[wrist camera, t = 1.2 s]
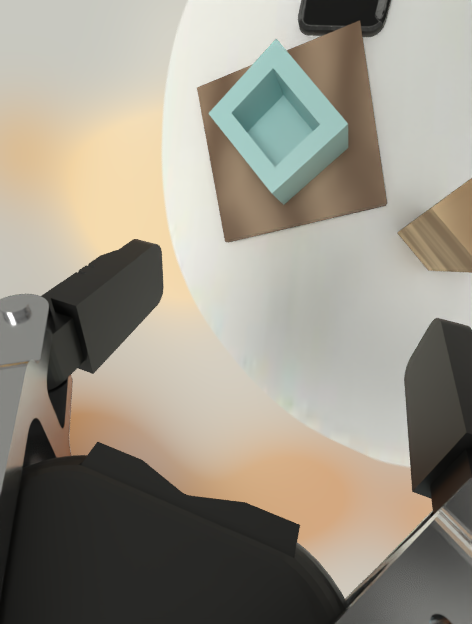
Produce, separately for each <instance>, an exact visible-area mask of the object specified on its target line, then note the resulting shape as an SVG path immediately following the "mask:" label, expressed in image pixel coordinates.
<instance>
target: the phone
mask: <svg viewBox="0 0 472 624" xmlns="http://www.w3.org/2000/svg"><path fill="white" fill-rule="evenodd" d="M390 2H391V0H302V1H301V5H300V10H299V14H298V22H299V27H300V30H301V32H302V33H303V34H305V35H316V36H323V35H326V34H328V33H331V32H333V31H335V30H338V29H340V28H343V27H345V26H347V25H350V24H352V23H355V22H357V21H360V24H361V31H362V37H372V36H374V35H376V34H378V33H379V32H380V31H381V30H382V28H383V27H384V24H385V22H386V18H387V14H388V10H389V6H390ZM314 33H315V34H314Z"/></svg>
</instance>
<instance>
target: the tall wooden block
mask: <svg viewBox="0 0 472 624" xmlns="http://www.w3.org/2000/svg"><path fill="white" fill-rule="evenodd" d="M398 234H399V236H400V237H401V238H402V239H403V240H404V242H405V243H406V244H407V245H408V246H409V248H410V249H411V250H412V251H413V252H414V254H415V255H416V256H417V257H418V259H419V260H420V261H421V262H422V263H423V265H424V266H425V267H426V268H427V269H428V271H451V272H472V178H471V179H470V180H468V181H467V182H466V183H464V184H463V185H462V186H460V187H459V188H458V189H456V190H455V191H453V192H452V193H451V194H449V195H448V196H447V197H445V198H444V199H442V200H441V201H440V202H438V203H437V204H436V205H434V206H433V207H431V208H430V209H429V210H427V211H426V212H425V213H423V214H422V215H421V216H419V217H418V218H417V219H415V220H414V221H413V222H411V223H410V224H408V225H407V226H406V227H404V228H403V229H402V230H400V231H399V232H398Z"/></svg>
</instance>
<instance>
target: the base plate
mask: <svg viewBox="0 0 472 624" xmlns="http://www.w3.org/2000/svg"><path fill="white" fill-rule="evenodd" d="M287 52H288V53H289V54H290V55H291V57H292V58H293V59H294V60H295V61H296V63H297V64H298V65H299V66H300V67H301V68H302V70H303V71H304V72H305V73H306V74H307V76H308V77H309V78H310V79H311V80H312V82H313V83H314V84H315V85H316V86H317V87H318V89H319V90H320V91H321V92H322V93H323V95H324V96H325V97H326V98H327V99H328V101H329V102H330V103H331V104H332V105H333V106H334V108H335V109H336V110H337V111H338V112H339V114H340V115H341V116H342V117H343V118H344V120H345V121H346V122H347V123H348V148H347V149H346V150H345V151H344V152H343V153H342V154H341V155H340V156H338V157H337V158H336V159H335V160H334V161H333V162H332V163H331V164H329V165H328V166H327V167H326V168H325V169H324V170H323V171H322V172H320V173H319V174H318V175H317V176H316V177H315V178H314V179H312V180H311V181H310V182H309V183H308V184H307V185H306V186H305V187H303V188H302V189H301V190H300V191H299V192H298V193H297V194H296V195H294V196H293V197H292V198H291V199H290V200H289V201H288V202H286V203H285V204H284V205H283V204H282V203H281V202H280V201H279V200H278V199H277V198H276V197H275V196H274V195H273V194H272V193H271V192H270V191H269V189H268V188H267V187H266V186H265V184H264V183H263V182H262V181H261V179H260V178H259V177H258V176H257V174H256V173H255V172H254V170H253V169H252V168H251V167H250V165H249V164H248V163H247V162H246V160H245V159H244V158H243V157H242V155H241V154H240V153H239V152H238V150H237V149H236V148H235V147H234V145H233V144H232V143H231V141H230V140H229V139H228V138H227V136H226V135H225V134H224V133H223V131H222V130H221V129H220V128H219V126H218V125H217V124H216V123H215V121H214V120H213V119H212V118H211V116H210V115H209V114H208V113H209V112H210V111H211V110H212V109H213V108H214V107H215V106H216V105H217V103H218V102H219V101H220V100H221V99H222V98H223V97H224V96H225V95H226V94H227V92H228V91H229V90H230V89H231V88H232V87H233V86H234V85H235V84H236V82H237V81H238V80H239V79H240V78H241V77H242V76H243V75H244V74H245V73H246V71H247V70H248V69H249V68H250V67H251V66H252V65H251V66H248V67H246V68H243V69H241V70H239V71H236V72H234V73H231V74H229V75H227V76H224V77H222V78H219V79H217V80H214V81H212V82H210V83H207V84H205V85H202V86H200V87H198V88H197V90H198V96H199V101H200V107H201V112H202V118H203V123H204V129H205V134H206V139H207V145H208V150H209V156H210V161H211V167H212V172H213V178H214V183H215V189H216V194H217V200H218V205H219V211H220V216H221V221H222V227H223V232H224V238H225V242H232V241H236V240H240V239H244V238H249V237H253V236H257V235H262V234H266V233H270V232H274V231H279V230H283V229H287V228H291V227H296V226H300V225H304V224H309V223H313V222H317V221H321V220H326V219H330V218H334V217H338V216H343V215H347V214H351V213H356V212H360V211H364V210H368V209H373V208H377V207H381V206H386V204H387V200H386V193H385V187H384V180H383V173H382V166H381V160H380V153H379V146H378V139H377V132H376V126H375V119H374V112H373V105H372V99H371V92H370V85H369V78H368V72H367V65H366V58H365V51H364V44H363V38H362V31H361V24H360V21H357V22H355V23H352V24H350V25H347V26H345V27H343V28H340V29H338V30H335V31H333V32H331V33H328V34H326V35H323V36H321V37H318V38H316V39H314V40H311V41H309V42H306V43H304V44H302V45H299V46H297V47H294V48H292V49H289V50H287Z"/></svg>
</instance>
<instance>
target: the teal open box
mask: <svg viewBox="0 0 472 624" xmlns="http://www.w3.org/2000/svg"><path fill="white" fill-rule="evenodd" d="M208 114H209V115H210V116H211V118H212V119H213V120H214V121H215V123H216V124H217V125H218V126H219V128H220V129H221V130H222V131H223V133H224V134H225V135H226V136H227V138H228V139H229V140H230V141H231V143H232V144H233V145H234V147H235V148H236V149H237V150H238V152H239V153H240V154H241V155H242V157H243V158H244V159H245V160H246V162H247V163H248V164H249V165H250V167H251V168H252V169H253V170H254V172H255V173H256V174H257V176H258V177H259V178H260V179H261V181H262V182H263V183H264V184H265V186H266V187H267V188H268V189H269V191H270V192H271V193H272V194H273V195H274V196H275V197H276V198H277V199H278V200H279V201H280V202H281V203H282V204H283V205H284V204H285V203H286V202H288V201H289V200H290V199H291V198H292V197H293V196H294V195H296V194H297V193H298V192H299V191H300V190H301V189H302V188H303V187H305V186H306V185H307V184H308V183H309V182H310V181H311V180H312V179H314V178H315V177H316V176H317V175H318V174H319V173H320V172H322V171H323V170H324V169H325V168H326V167H327V166H328V165H329V164H331V163H332V162H333V161H334V160H335V159H336V158H337V157H338V156H340V155H341V154H342V153H343V152H344V151H345V150H346V149H347V148H348V123H347V122H346V121H345V120H344V118H343V117H342V116H341V115H340V114H339V112H338V111H337V110H336V109H335V108H334V106H333V105H332V104H331V103H330V102H329V101H328V99H327V98H326V97H325V96H324V95H323V93H322V92H321V91H320V90H319V89H318V87H317V86H316V85H315V84H314V83H313V82H312V80H311V79H310V78H309V77H308V76H307V74H306V73H305V72H304V71H303V70H302V68H301V67H300V66H299V65H298V64H297V63H296V61H295V60H294V59H293V58H292V57H291V55H290V54H289V53H288V52H287V51H286V50H285V48H284V47H283V46H282V45H281V44H280V42H279V41H278V40H277V39H276V40H275V41H274V42H273V43H272V44H271V45H270V46H269V47H268V48H267V49H266V51H265V52H264V53H263V54H262V55H261V56H260V57H259V58H258V59H257V60H256V62H255V63H254V64H253V65H252V66H251V67H250V68H249V69H248V70H247V71H246V73H245V74H244V75H243V76H242V77H241V78H240V79H239V80H238V81H237V82H236V84H235V85H234V86H233V87H232V88H231V89H230V90H229V91H228V92H227V94H226V95H225V96H224V97H223V98H222V99H221V100H220V101H219V102H218V103H217V105H216V106H215V107H214V108H213V109H212V110H211V111H210V112H209V113H208Z"/></svg>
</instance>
